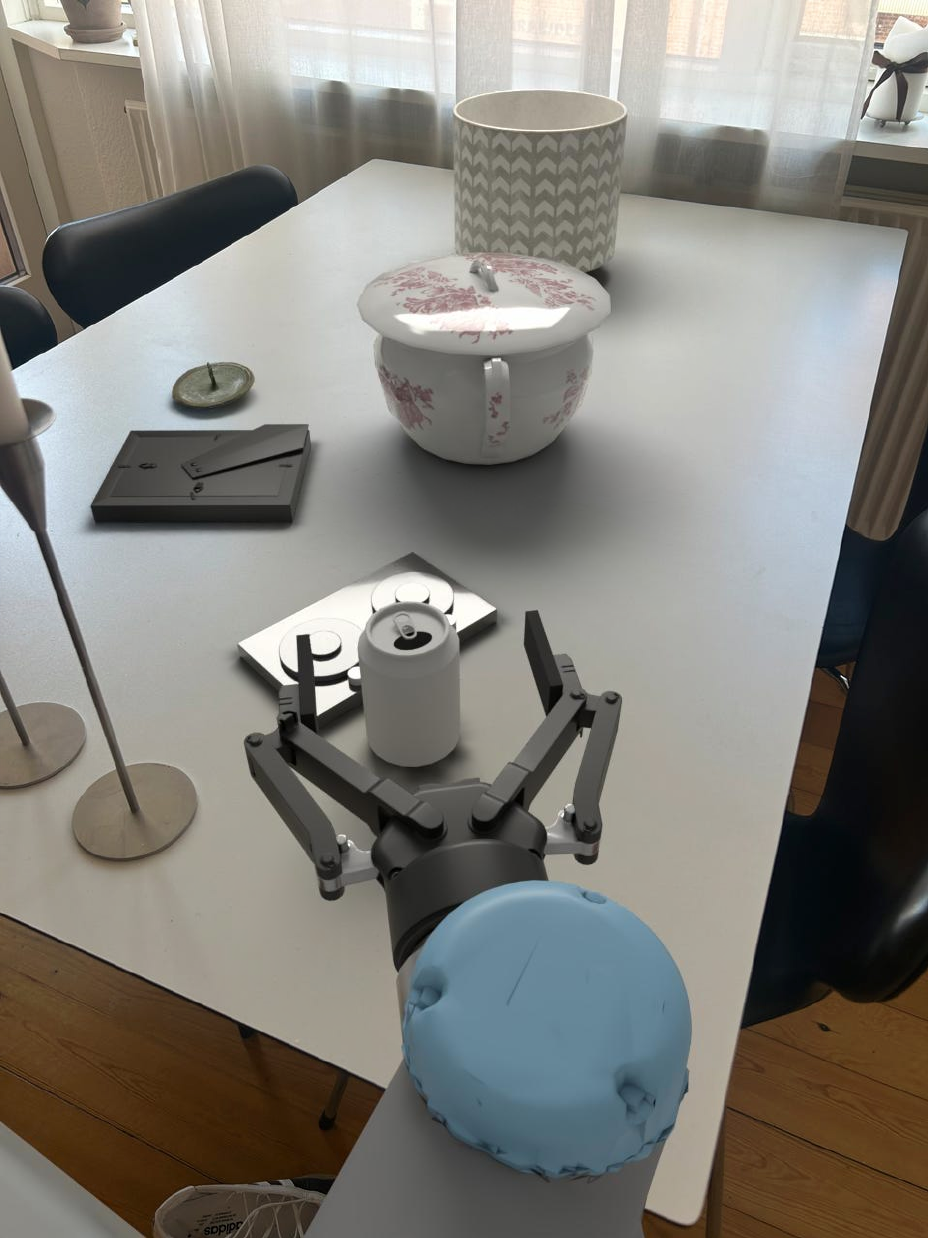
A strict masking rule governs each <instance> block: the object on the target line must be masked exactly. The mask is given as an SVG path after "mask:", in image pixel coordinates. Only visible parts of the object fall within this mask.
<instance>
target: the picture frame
mask: <svg viewBox="0 0 928 1238" xmlns="http://www.w3.org/2000/svg"><path fill="white" fill-rule="evenodd" d="M309 427H310V426H309V423H264V424H262V425H260V426H259V427H255V428H254V429H194V430H193V429H187V430H186V429H182V430H181V429H176V430H175V429H173V430H172V429H170V430H168V429H167V430H166V429H165V430H151V429H149V430H145V429H144V430H141V429H140V430H139V429H138V430H137V429H136V430H129V433H128V435H127V437H126V438H125V440H124V441H123V444H122V446H121V448H120V450H119V451H118V453H117V455H116V457H115V459H114V461H113V462H112V465H111V466H110V468H109V469H108V472H107V474H106V475H105V477H104V479H103V481H102V483H101V485H100V486H99V488H98V490H97V491H96V494H95V496H94V498H93V500H92V502H91V504H90V505H89V507H90V510H91V513H92V517H93V520H94V522H95V523H240V522H241V523H245V522H246V523H259V522H260V523H262V522H263V523H264V522H265V523H267V522H268V523H270V522H271V523H273V522H277V523H279V522H280V523H283V522H284V523H285V522H287V523H288V522H289V523H290V522H291V523H292V522H293V521H294V517H295V513H296V509H297V505H298V500H299V496H300V492H301V488H302V484H303V480H304V476H305V472H306V467H307V463H308V459H309V455H310V452H311V447H312V441H311V434H310V429H309Z"/></svg>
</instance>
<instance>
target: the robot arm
mask: <svg viewBox="0 0 928 1238" xmlns="http://www.w3.org/2000/svg"><path fill="white" fill-rule="evenodd" d="M523 629H524V631H523V632H524V633H523V647H524V651H525V654H526V657H527V661H528V663H529V666H530V670H531V673H532V677H533V679H534V683H535V686H536V689H537V692H538V695H539V698H540V702H541V705H542V708H543V711H544V714H545V718H544V720H543V721H542V723H541V724H540V725H539V726H538V728H537V729H536V731H535V732H534V733H533V734H532V736H531V737H530V738H529V740H528V741H527V742H526V744H525V745H524V747H523V748H522V749H521V751H520V752H519V753H518V754H517V756H516V757H515V758H514V760H513V761H512V762H511V761H508V762H507V763H506V764H505V766H504V767H503V768H502V770H501V771H500V773H498V775H497V777H496V778H495V779H494V781H493V782H492V783H491V784H490V783H487V782H485V781H481V779H480V777H472V778H465V779H462V780H458V781H456V782H452V783H450V784H448V783H434V782H431V783H425V784H418V786H417V790H414V791H412V792H410V791H408V790H406V789H405V788H403V787H402V786H400V785H399V784H398V783H396V782H395V781H394V780H392V779H390V778H388V777H383V778H381V777H379V776H378V775H376V774H374V773H373V772H372V771H370V770H369V769H367V768H366V767H365V766H363V765H361V764H360V763H359V762H358V761H356V760H354V759H353V758H352V757H351V756H349V755H347V754H346V753H344V752H343V751H342V750H340V749H339V748H337V747H336V746H335V745H333V744H332V743H330V742H329V741H327V740H326V739H324V738H323V737H322V736H320V734H319V728H318V724H317V708H316V692H315V676H314V664H313V657H312V650H311V643H310V635H309V634H304V635H296V639H297V662H298V684H291V685H282V687H281V689H280V691H279V692H278V714H277V716H276V723H277V727H276V728H275V730H273V731H272V732H270V733H267V734H264V733H262V732H252V733H249V734H248V735H246V737H245V738H244V740H243V746H244V751H245V755H246V756H245V757H246V761H247V764H248V769H249V773H250V776H251V778H252V780H253V781H254V782H255V784H256V785H257V786H258V788H259V789H260V791H261V792H262V793H263V795H264V796H265V798H266V799H267V800H268V802H269V803H270V805H271V806H272V807H273V809H274V810H275V811H276V813H277V815H278V816H279V817H280V819H281V820H282V822H283V823H284V824H285V826H286V827H287V828H288V830H289V831H290V832H291V834H292V836H293V837H294V839H295V840H296V841H297V843H298V844H299V845H300V846H301V848H302V849H303V851H304V853H306V855H307V857H308V858H309V860H310V861H311V862H312V864H313V866H314V871H315V876H316V881H317V885H318V891H319V895H320V896H321V898H322V899H324V901H328V902H335V901H337V900H339V899H341V898H342V897H343V896H344V894H345V892H346V891H345V890H346V887H347V886H351V885H355V884H360V883H363V882H368V881H371V880H376V881H377V882H378V884H380V886H381V887H382V889H383V891H384V893H385V902H386V911H387V919H388V928H389V937H390V947H391V954H392V962H393V966H394V968H395V969H394V970H395V971H396V972H397V977H396V979H395V983H396V994H397V1002H398V1012H399V1013H398V1014H399V1021H400V1022H399V1023H400V1030H401V1038H402V1039H401V1040H402V1044H401V1053H402V1057H403V1058H402V1060H401V1062H400V1064H399V1065H398V1067H397V1069H396V1070H395V1072H394V1074H393V1076H392V1078H391V1080H390V1081H389V1082H388V1085H387V1087H386V1088H385V1090H384V1092H383V1094H382V1096H381V1097H380V1099H379V1101H378V1103H377V1104H376V1106H375V1108H374V1110H373V1112H372V1114H371V1116H370V1117H369V1119H368V1120H367V1123H366V1124H365V1126H364V1128H363V1129H362V1132H361V1133H360V1135H359V1137H358V1138H357V1140H356V1142H355V1144H354V1146H353V1147H352V1149H351V1151H350V1153H349V1154H348V1156H347V1158H346V1160H345V1162H344V1164H343V1166H342V1167H341V1169H340V1171H339V1172H338V1175H337V1176H336V1178H335V1180H334V1181H333V1183H332V1185H331V1187H330V1189H329V1190H328V1192H327V1194H326V1196H325V1197H324V1199H323V1201H322V1202H321V1204H320V1207H319V1209H318V1210H317V1212H316V1214H315V1216H314V1218H313V1220H312V1221H311V1222H310V1225H309V1226H308V1228H307V1230H306V1232H305V1233H304V1235H303V1237H302V1238H646V1237H645V1235H644V1230H643V1225H642V1218H643V1216H644V1213H645V1210H646V1204H647V1201H648V1195H649V1192H650V1189H651V1186H652V1183H653V1180H654V1177H655V1175H656V1171H657V1168H658V1165H659V1161H660V1159H661V1157H662V1154H663V1151H664V1147H665V1145H666V1142H667V1141H668V1140H669V1137H670V1136H671V1134H672V1133H673V1131H674V1130H675V1128H676V1122H677V1117H678V1115H679V1111H680V1108H681V1107H680V1106H681V1103H682V1102H683V1101H684V1098H685V1095H686V1094H688V1093H689V1084H690V1083H689V1080H690V1079H689V1078H690V1070H689V1068H688V1067H687V1066H688V1061H689V1057H690V1052H691V1051H690V1050H691V1045H692V1037H693V1020H692V1012H691V1004H690V998H689V995H688V991H687V987H686V984H685V981H684V979H683V976H682V974H681V972H680V969H679V967H678V965H677V964H676V962H675V960H674V958H673V956H672V955H671V953H670V951H669V949H668V948H667V947H666V946H665V943H663V941H662V940H661V939H660V938H659V936H658V935H657V934H656V933H655V932H654V930H653V929H652V928H651V927H650V926H649V925H648V924H647V923H646V922H644V921H643V920H642V919H641V918H640V917H639V916H637V915H636V914H635V913H634V912H633V911H631V910H630V909H628V907H625V906H624V905H622V904H620V903H619V902H618V901H615V900H613V899H611V898H609V897H607V896H605V895H604V894H602V893H601V892H599V891H595V890H590V889H587V888H584V887H581V886H580V885H577V884H573V883H568V882H564V881H556V880H549V876H548V872H547V869H546V864H545V861H544V860H545V859H546V856H551V855H552V856H556V855H573V857H574V859H575V860H576V862H577V863H578V864H580V865H584V866H590V865H593V864H595V863H596V862H597V861H598V859H599V853H600V847H601V840H602V832H603V818H602V814H601V809H600V801H601V797H602V793H603V790H604V785H605V783H606V779H607V774H608V770H609V767H610V764H611V763H610V762H611V760H612V755H613V751H614V748H615V743H616V740H617V735H618V732H619V724H620V720H621V719H620V718H621V714H622V713H621V711H622V706H623V697H622V695H621V694H620V693H618V692H616V691H614V690H607V691H604V692H603V693H601V694H600V695H595V694H590V693H588V692H587V691H586V689H584V688H583V686H582V684H581V681H580V679H579V676H578V673H577V670H576V667H575V665H574V662H573V658H571V657H570V656H569V655H568V654H567V653H559V654H553V650H552V647H551V644H550V641H549V638H548V636H547V633H546V630H545V627H544V624H543V621H542V618H541V616H540V612H539V610H538V609H535V610H526V611H524V628H523ZM584 728H585V729H590V731H589V735H588V738H587V741H586V745H585V748H584V751H583V755H582V758H581V761H580V765H579V769H578V772H577V776H576V779H575V783H574V786H573V793H572V794H573V795H572V801H571V802H572V803H568V804H566V805H564V808H563V809H560V811H558V812H557V815H556V816H557V817H556V820H555V822H554V823H553V824H551V825H547V826H545V824H544V823H543V822H542V821H541V820H540V819H539V818H538V817H536V816H535V815H534V814H533V813H531V812H530V807H531V804H532V803H533V801H534V799H535V798H536V797H537V795H538V794H539V792H540V791H541V789H542V788H543V787H544V786H545V784H546V782H547V781H548V780H549V778H550V777H551V775H552V774H553V772H554V771H555V770H556V768H557V767H558V765H559V764H560V762H561V761H562V759H563V758H564V756H565V755H566V754H567V752H568V751H569V749H570V747H571V746H572V744H573V743H574V742H575V740H576V739H577V738H578V736H579V738H580V739H582V738H583V735H584ZM294 771H295V772H296V773H297V774H299V775H300V776H301V777H302V778H304V779H305V780H307V781H308V782H310V783H311V784H312V785H314V786H315V787H316V788H318V789H319V790H320V791H322V792H323V793H324V794H326V796H328V797H330V798H331V799H332V800H334V801H335V802H337V803H338V804H339V805H340V806H342V807H343V808H344V809H346V810H347V811H348V812H350V813H352V815H354V816H355V817H357V818H358V819H359V820H361V821H362V822H363V823H365V824H366V825H367V826H368V828H369V829H370V832H371V833H372V834H373V835H374V836H375V837H376V839H375V840H374V842H373V843H372V846H371V849H370V850H361V849H359V848H358V847H357V845H356V844H355V843H354V841H352V840H351V839H349V838H348V836H347V835H346V834H343V833H341V834H338V835H336V832H335V829H334V826H333V824H332V822H331V820H330V819H329V817H328V815H326V813H325V811H324V810H323V809H322V808H321V806H320V805H319V804H318V803H317V801H316V799H314V797H313V796H312V794H311V793H310V792H309V791H308V789H307V788H306V787H305V786H304V784H303V783H302V782H301V780H300V779H299V777H298V776H297V775H296V774H295V772H294ZM0 1238H146V1236H144V1235H143V1234H142V1233H140V1232H139V1231H138V1229H137V1230H136V1228H134V1227H133V1226H132V1225H131V1224H130V1223H128V1222H127V1221H126V1220H124V1219H123V1218H122V1217H121V1216H120V1215H118V1214H117V1213H116V1212H115V1211H113V1210H112V1209H111V1208H109V1207H108V1206H107V1205H106V1204H104V1203H103V1202H102V1201H101V1200H99V1199H98V1198H97V1197H96V1196H94V1194H92V1193H90V1191H88V1190H87V1189H86V1188H84V1187H83V1186H82V1185H81V1184H80V1183H78V1182H77V1181H76V1180H74V1179H73V1178H72V1177H70V1175H68V1174H67V1173H66V1172H65V1171H63V1170H62V1169H61V1168H60V1167H58V1166H57V1165H55V1163H53V1162H52V1161H51V1160H50V1159H48V1158H47V1157H46V1156H44V1155H43V1154H42V1153H41V1152H39V1151H38V1150H37V1149H36V1148H34V1147H33V1146H32V1145H31V1144H30V1143H28V1142H27V1141H26V1140H24V1139H23V1138H22V1137H21V1136H19V1135H18V1134H17V1133H16V1132H14V1131H13V1130H12V1129H11V1128H9V1127H8V1126H7V1125H6V1124H4V1123H3V1122H2V1121H1V1120H0Z"/></svg>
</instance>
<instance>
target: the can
mask: <svg viewBox="0 0 928 1238" xmlns="http://www.w3.org/2000/svg"><path fill="white" fill-rule="evenodd" d="M357 649H358V658H359V667H360V677H361V686H362V696H363V703H362V705H363V713H364V723H365V724H364V725H365V732H366V733H365V734H366V738H367V742H368V745H369V746H368V747H370V749H371V750H372V751H373V753H375V755H376V756H377V757H379V758H380V759H381V760H383V761H385V762H387V763H388V764H392V765H396V766H400V767H407V768H408V767H410V768H411V767H413V768H418V767H424V766H427V765H432V764H435V763H436V762H438V761H441V760H443V759H445V758H446V757H447V756H448V755H449V754H450V753H451V752H452V751H454V750H455V748H456V747H457V744H458V742H459V741H460V740H461V739H460V738H461V667H460V666H461V665H460V664H461V663H460V662H461V661H460V644H459V638H458V635H457V633H456V630H455V629H454V628H453V627H452V626H451V625H450V623H449V620H448V618H447V616H446V615H445V614H444V613H443V612H442V611H441V610H439V609H438V608H436V607H434V606H432V605H430V604H425V603H421V602H413V601H404V602H398V603H393V604H390V605H388V606H385V607H383V608H381V609H379V610H378V611H376V612H375V613H374V614H372V615H371V617H370V618H369V620H368V621H367V622H366V626H365V629H364V631H363V632H362V634H361V635H360V637H359V641H358V646H357Z"/></svg>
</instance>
